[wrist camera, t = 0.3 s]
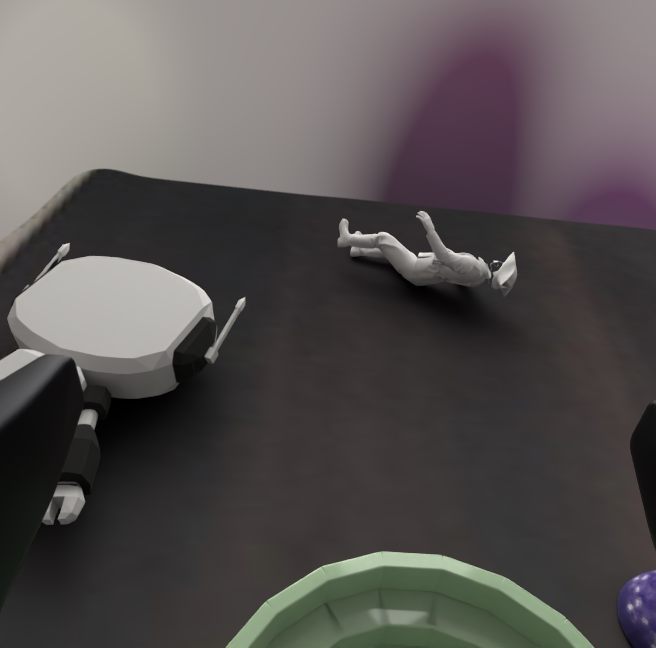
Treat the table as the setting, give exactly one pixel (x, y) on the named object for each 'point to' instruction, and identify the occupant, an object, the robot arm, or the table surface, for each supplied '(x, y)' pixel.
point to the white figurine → (429, 259)
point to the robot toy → (111, 344)
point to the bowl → (406, 609)
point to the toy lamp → (639, 610)
